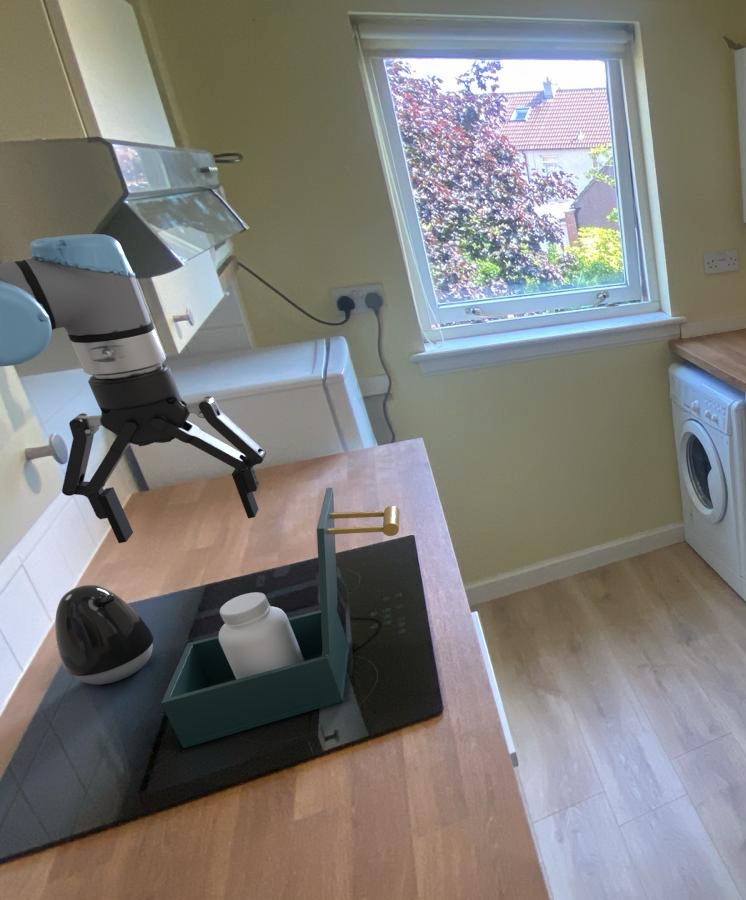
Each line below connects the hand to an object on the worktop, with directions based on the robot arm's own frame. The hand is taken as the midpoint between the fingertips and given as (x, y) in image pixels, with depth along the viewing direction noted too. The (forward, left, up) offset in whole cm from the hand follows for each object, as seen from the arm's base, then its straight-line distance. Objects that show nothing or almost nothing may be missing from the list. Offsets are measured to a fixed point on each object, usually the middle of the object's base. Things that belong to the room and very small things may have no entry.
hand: (191, 525), depth 96 cm
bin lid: (+13, -1, -10) cm, 16 cm away
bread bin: (+2, -1, -28) cm, 28 cm away
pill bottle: (+3, -2, -27) cm, 27 cm away
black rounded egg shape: (-20, +16, -28) cm, 38 cm away
